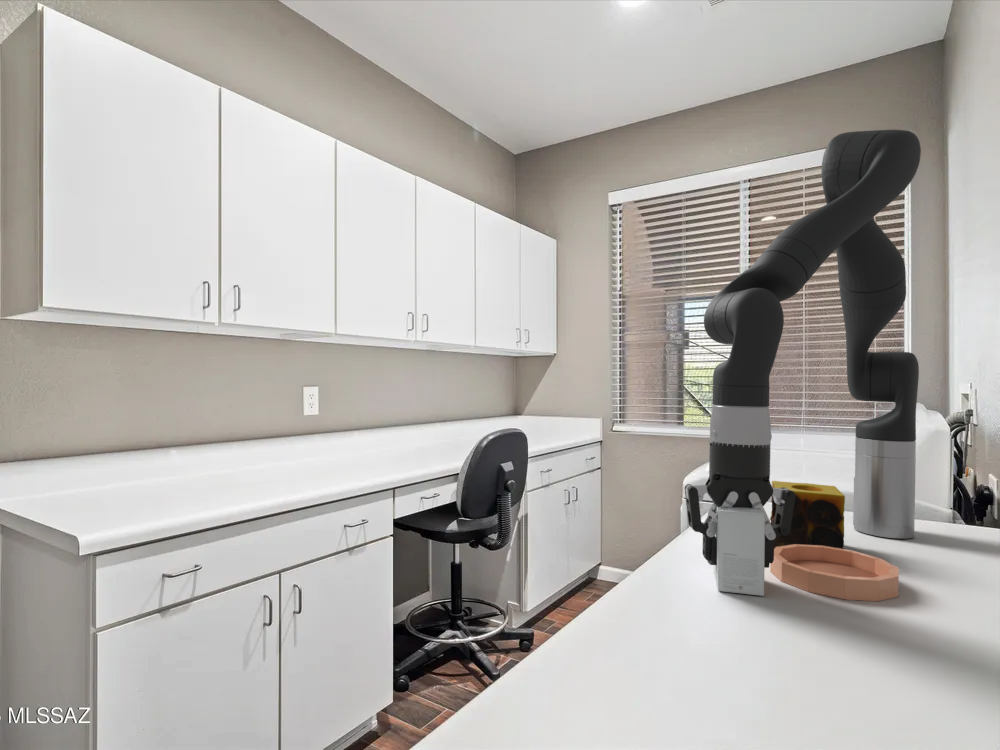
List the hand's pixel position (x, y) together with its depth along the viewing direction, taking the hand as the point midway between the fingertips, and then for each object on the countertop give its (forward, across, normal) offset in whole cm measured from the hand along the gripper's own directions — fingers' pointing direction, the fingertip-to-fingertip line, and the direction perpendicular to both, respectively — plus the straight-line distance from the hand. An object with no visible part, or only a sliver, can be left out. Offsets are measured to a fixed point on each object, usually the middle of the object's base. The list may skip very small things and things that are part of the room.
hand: (737, 564), depth 76 cm
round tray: (+3, -14, -4) cm, 15 cm away
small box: (+3, 0, 0) cm, 3 cm away
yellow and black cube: (+3, -17, -20) cm, 26 cm away
